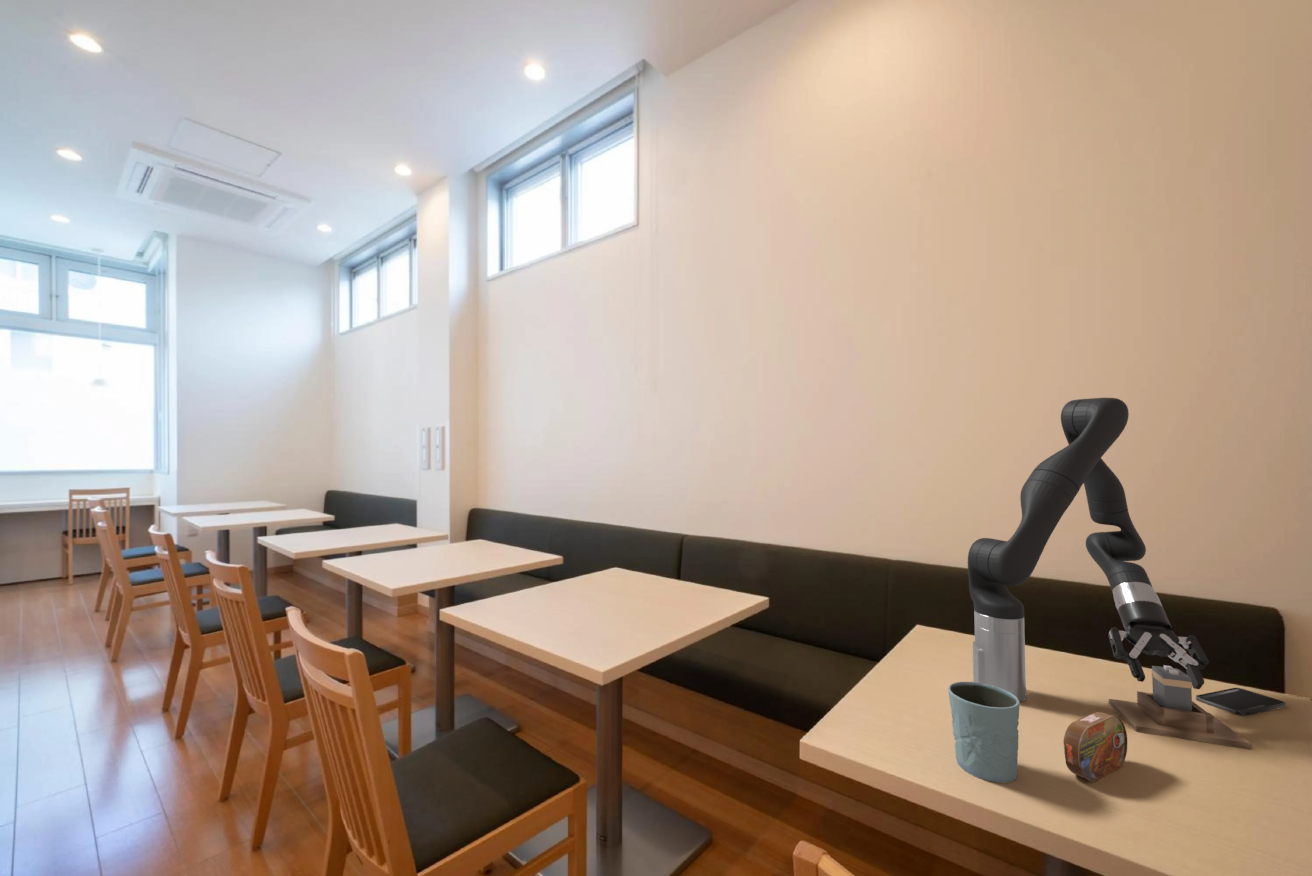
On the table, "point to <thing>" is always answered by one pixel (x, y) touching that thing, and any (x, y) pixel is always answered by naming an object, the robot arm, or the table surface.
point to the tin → (1095, 745)
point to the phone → (1240, 701)
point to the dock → (1176, 722)
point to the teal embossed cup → (985, 730)
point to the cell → (1171, 688)
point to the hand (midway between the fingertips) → (1169, 683)
